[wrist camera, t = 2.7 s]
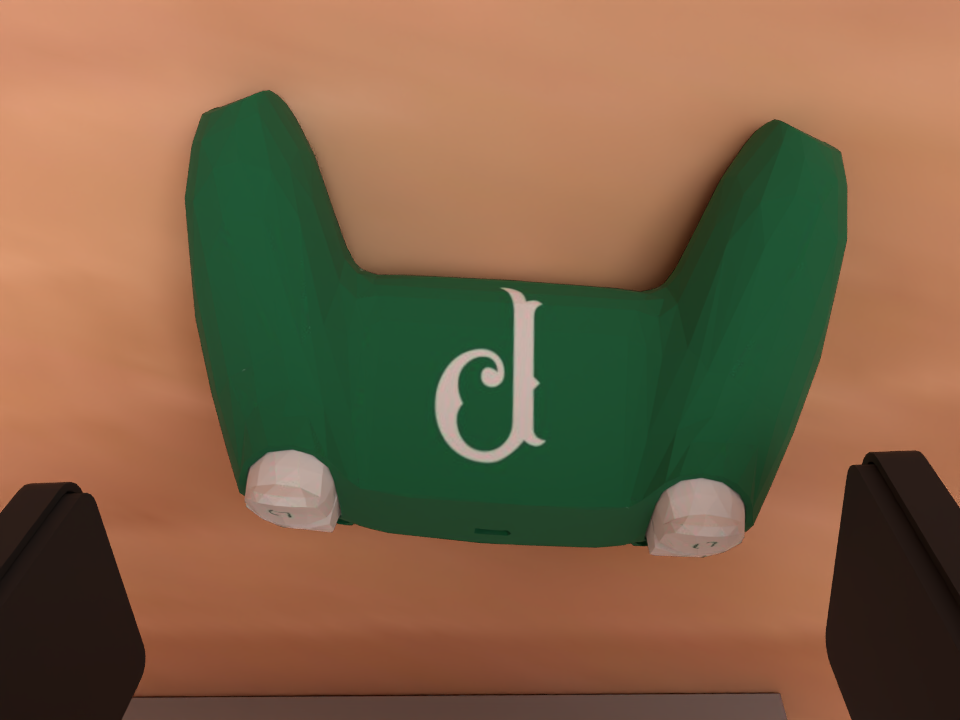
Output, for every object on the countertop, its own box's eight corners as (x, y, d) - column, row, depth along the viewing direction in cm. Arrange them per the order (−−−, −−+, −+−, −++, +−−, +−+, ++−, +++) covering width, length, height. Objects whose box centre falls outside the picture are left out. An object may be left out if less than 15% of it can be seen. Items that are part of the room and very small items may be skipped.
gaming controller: (254, 188, 16) (201, 531, 15) (186, 62, 13) (105, 499, 11) (778, 220, 16) (785, 573, 14) (864, 101, 12) (886, 555, 11)
